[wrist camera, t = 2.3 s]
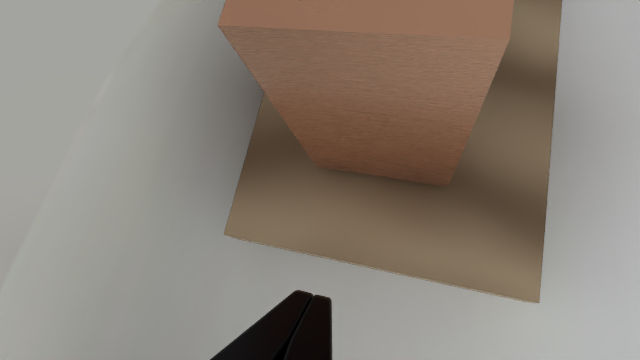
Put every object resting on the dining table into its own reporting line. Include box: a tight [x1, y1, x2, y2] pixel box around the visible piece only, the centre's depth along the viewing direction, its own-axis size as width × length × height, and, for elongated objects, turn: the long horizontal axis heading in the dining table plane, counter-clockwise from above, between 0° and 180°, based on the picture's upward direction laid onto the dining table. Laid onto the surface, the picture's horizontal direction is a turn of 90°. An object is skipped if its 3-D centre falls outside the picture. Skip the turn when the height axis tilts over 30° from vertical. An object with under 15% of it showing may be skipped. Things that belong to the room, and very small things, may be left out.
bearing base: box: [224, 0, 562, 303], centre depth 15 cm, size 21×14×10 cm, turn 167°
